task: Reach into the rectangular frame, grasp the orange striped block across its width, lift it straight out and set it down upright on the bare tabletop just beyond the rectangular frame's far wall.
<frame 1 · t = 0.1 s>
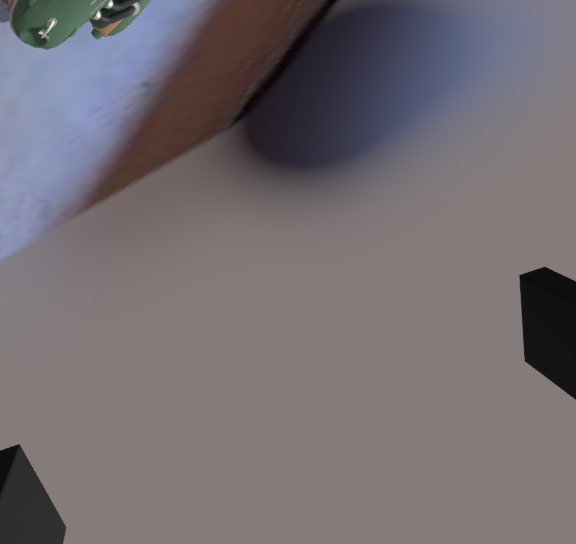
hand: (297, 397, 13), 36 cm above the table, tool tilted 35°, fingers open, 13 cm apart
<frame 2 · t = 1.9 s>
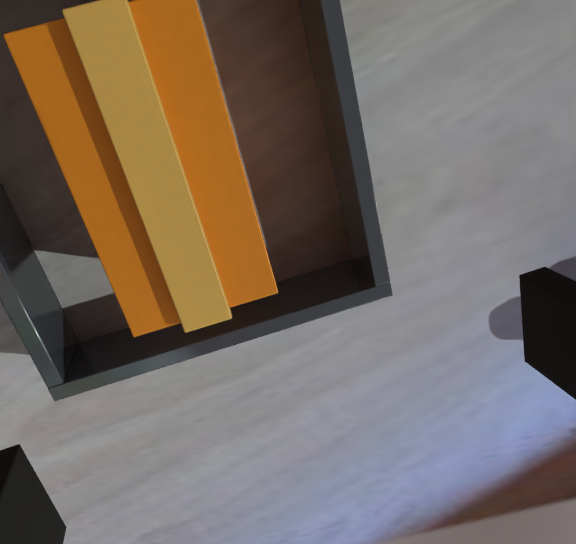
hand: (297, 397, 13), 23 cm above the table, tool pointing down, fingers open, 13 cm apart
rectangular frame: (166, 147, 32), on the table
orange striped block: (163, 162, 27), in the rectangular frame
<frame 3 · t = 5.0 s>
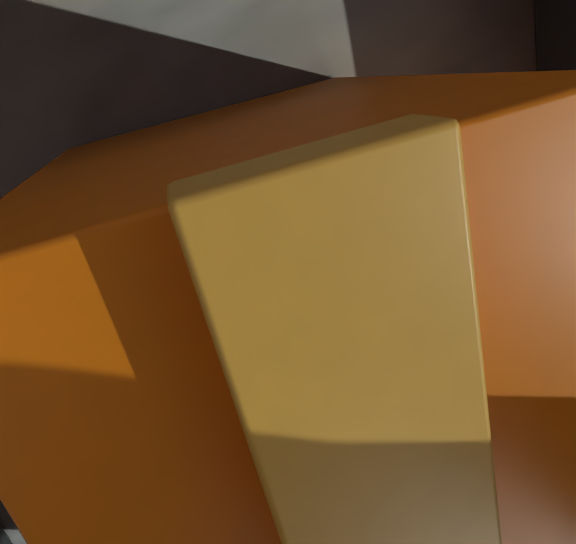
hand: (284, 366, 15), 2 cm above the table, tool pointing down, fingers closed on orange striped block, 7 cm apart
rectangular frame: (269, 332, 17), on the table
orange striped block: (316, 438, 12), in the rectangular frame, touching gripper
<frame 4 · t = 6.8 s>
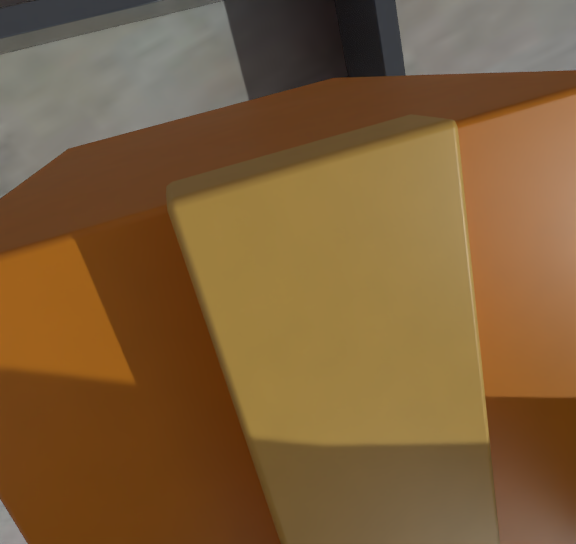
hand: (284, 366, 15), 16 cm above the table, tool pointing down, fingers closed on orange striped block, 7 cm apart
rectangular frame: (204, 231, 29), on the table
orange striped block: (315, 438, 12), point 19 cm above the table, touching gripper
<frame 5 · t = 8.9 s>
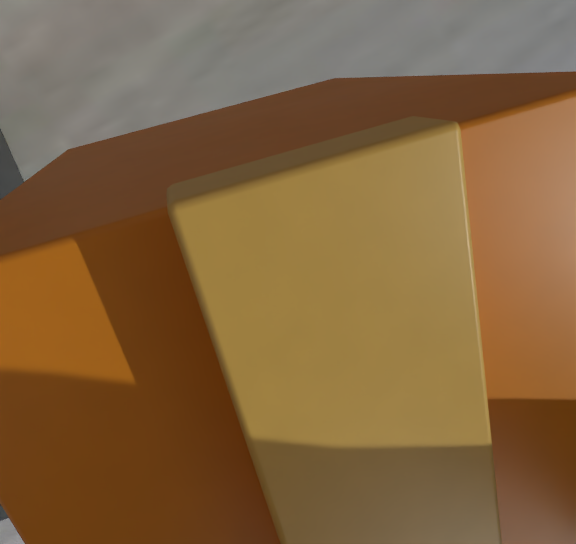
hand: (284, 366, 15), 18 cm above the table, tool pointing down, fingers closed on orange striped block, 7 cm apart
orange striped block: (316, 439, 12), point 22 cm above the table, touching gripper
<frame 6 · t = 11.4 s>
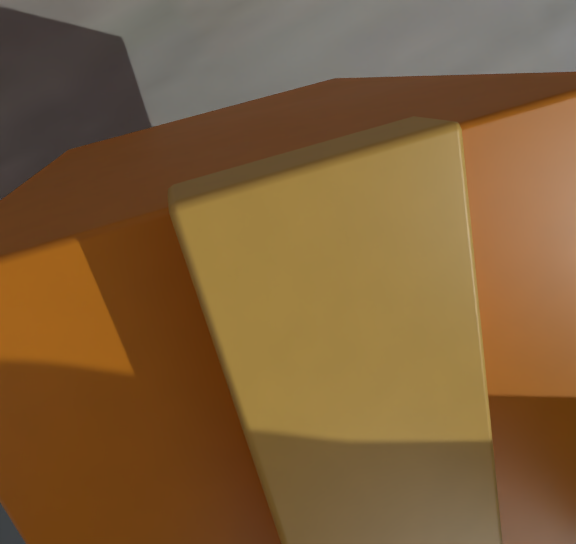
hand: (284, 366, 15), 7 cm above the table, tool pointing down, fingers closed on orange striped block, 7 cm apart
orange striped block: (316, 440, 12), point 10 cm above the table, touching gripper
when the fingers open (2 cm above the table, at t = 13.0 s): orange striped block stays where it is, on the table.
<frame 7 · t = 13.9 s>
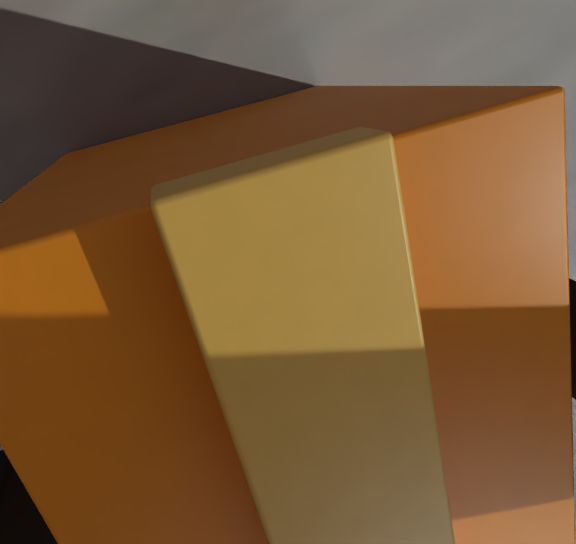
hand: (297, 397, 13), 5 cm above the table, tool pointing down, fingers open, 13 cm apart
orange striped block: (299, 423, 12), on the table
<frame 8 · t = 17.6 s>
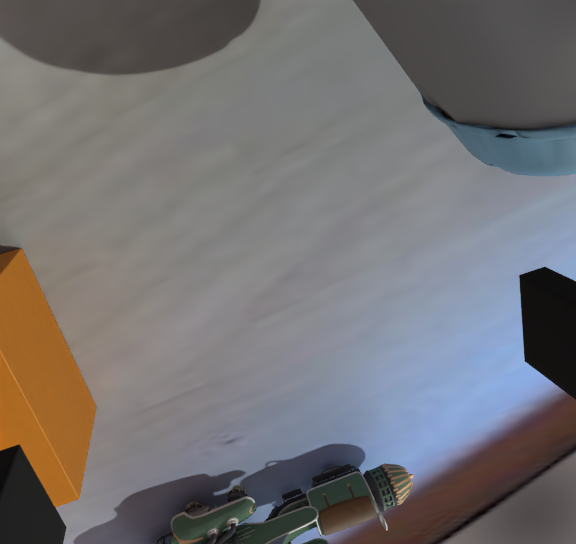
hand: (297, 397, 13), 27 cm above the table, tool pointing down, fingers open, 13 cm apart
hoverbike: (277, 498, 49), on the table
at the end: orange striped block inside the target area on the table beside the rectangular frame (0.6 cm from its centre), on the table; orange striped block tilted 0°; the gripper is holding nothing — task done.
